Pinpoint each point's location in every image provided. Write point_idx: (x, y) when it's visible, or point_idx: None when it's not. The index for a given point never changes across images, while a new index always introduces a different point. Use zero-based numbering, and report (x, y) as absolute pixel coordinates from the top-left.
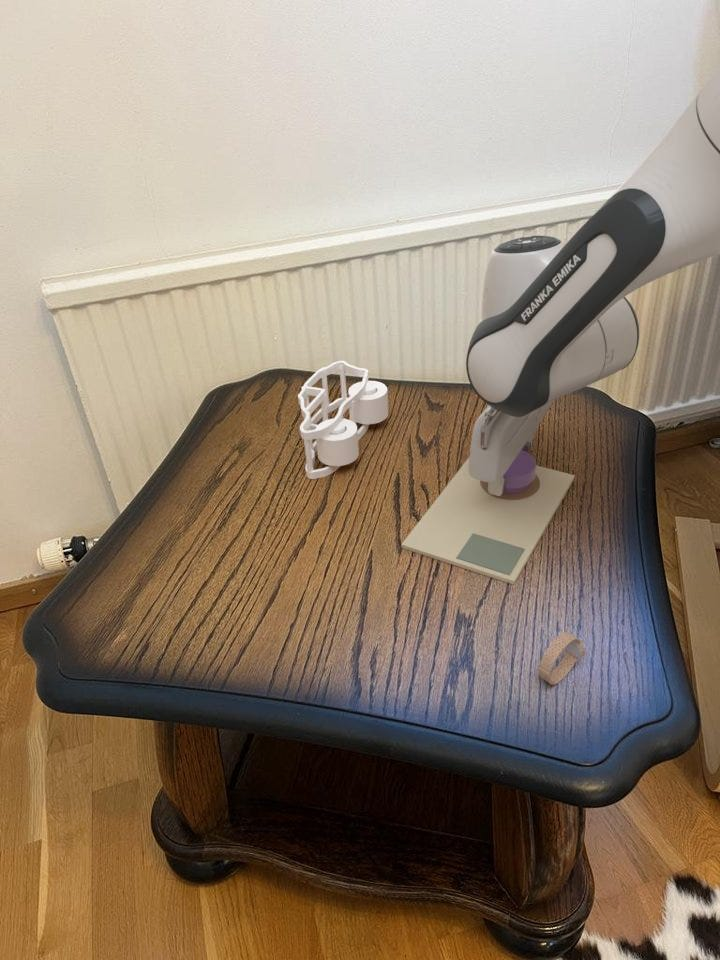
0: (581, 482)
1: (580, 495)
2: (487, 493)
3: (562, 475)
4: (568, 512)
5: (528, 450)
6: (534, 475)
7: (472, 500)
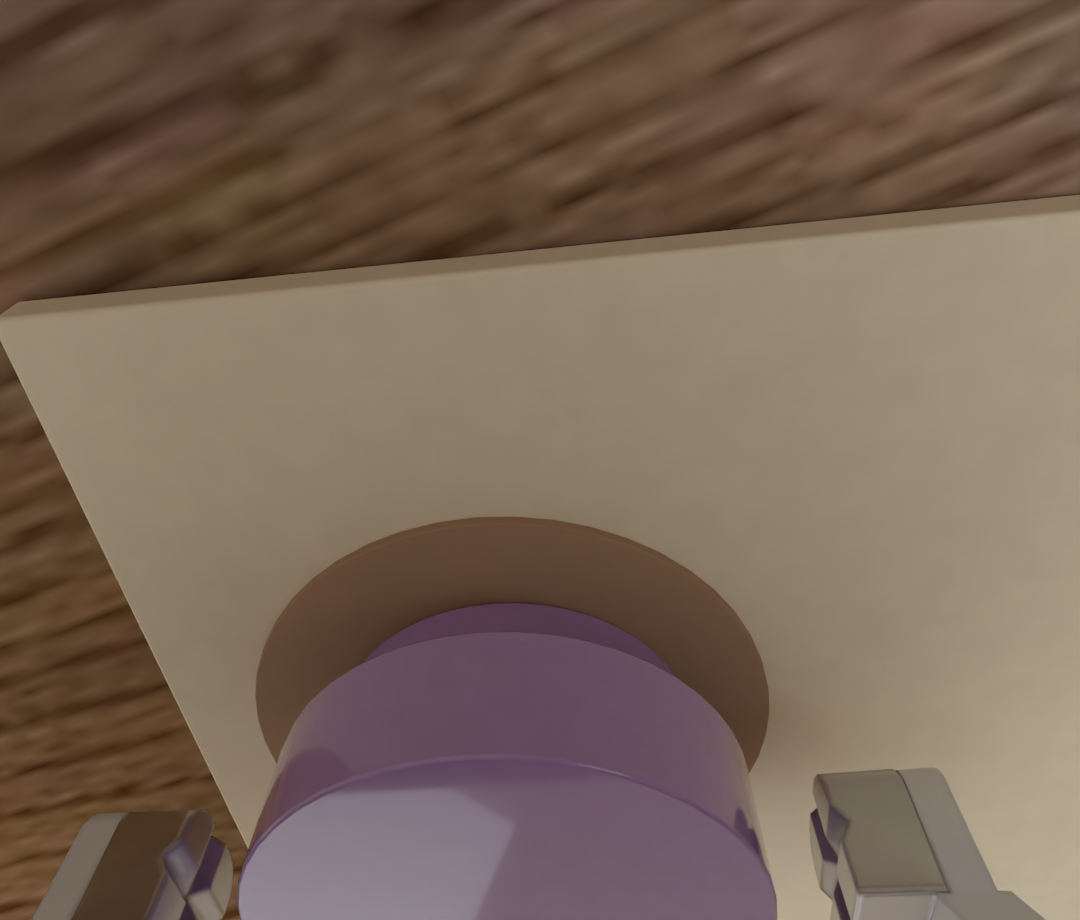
0: (7, 210)
1: (227, 116)
2: None
3: (101, 425)
4: (609, 104)
5: (164, 868)
6: (472, 674)
7: None
